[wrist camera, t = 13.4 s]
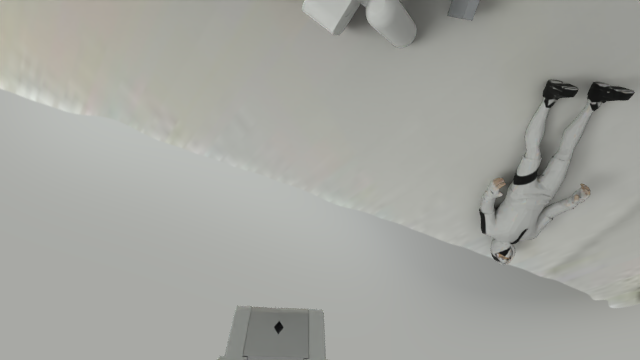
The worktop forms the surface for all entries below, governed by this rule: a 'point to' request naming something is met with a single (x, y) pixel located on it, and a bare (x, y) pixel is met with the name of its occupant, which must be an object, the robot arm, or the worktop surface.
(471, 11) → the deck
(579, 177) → the worktop surface
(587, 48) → the worktop surface
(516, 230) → the figurine
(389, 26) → the wall hook
